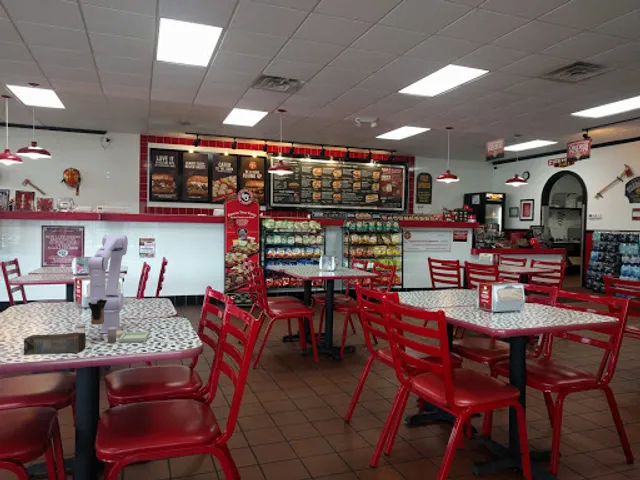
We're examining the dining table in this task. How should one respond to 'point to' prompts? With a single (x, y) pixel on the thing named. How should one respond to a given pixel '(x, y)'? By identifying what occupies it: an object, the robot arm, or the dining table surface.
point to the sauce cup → (119, 333)
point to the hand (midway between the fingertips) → (97, 318)
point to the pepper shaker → (112, 334)
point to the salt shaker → (80, 328)
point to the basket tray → (133, 337)
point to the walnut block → (101, 320)
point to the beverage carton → (54, 343)
